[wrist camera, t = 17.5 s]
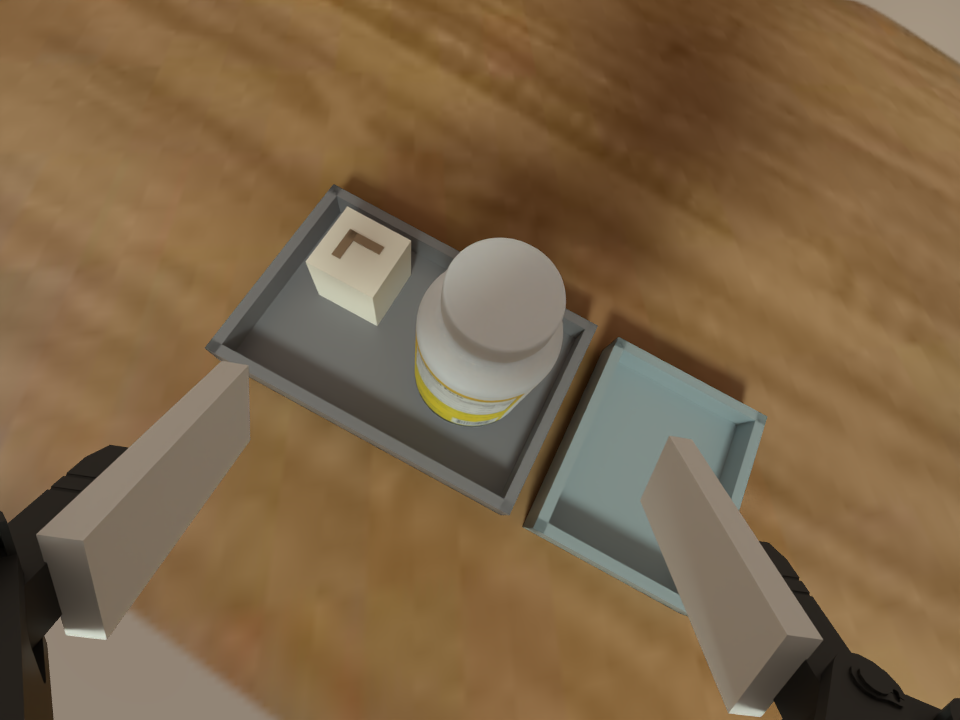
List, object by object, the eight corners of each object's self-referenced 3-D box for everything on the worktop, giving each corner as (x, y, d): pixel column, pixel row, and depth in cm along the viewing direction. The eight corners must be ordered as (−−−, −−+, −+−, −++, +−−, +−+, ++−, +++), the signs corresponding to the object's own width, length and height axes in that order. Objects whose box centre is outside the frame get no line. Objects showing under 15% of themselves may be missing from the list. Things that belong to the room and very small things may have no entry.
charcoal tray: (339, 208, 32) (333, 184, 29) (583, 339, 31) (597, 325, 29) (222, 362, 28) (204, 348, 25) (500, 515, 27) (509, 515, 25)
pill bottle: (501, 314, 30) (554, 200, 19) (537, 411, 29) (618, 347, 18) (400, 341, 29) (396, 234, 18) (432, 445, 27) (449, 398, 16)
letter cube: (354, 244, 30) (347, 205, 26) (411, 274, 30) (411, 239, 26) (319, 294, 29) (304, 260, 25) (377, 326, 29) (372, 297, 25)
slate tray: (602, 349, 31) (618, 336, 29) (740, 423, 31) (767, 416, 29) (522, 527, 27) (533, 528, 25) (679, 613, 27) (705, 622, 25)
